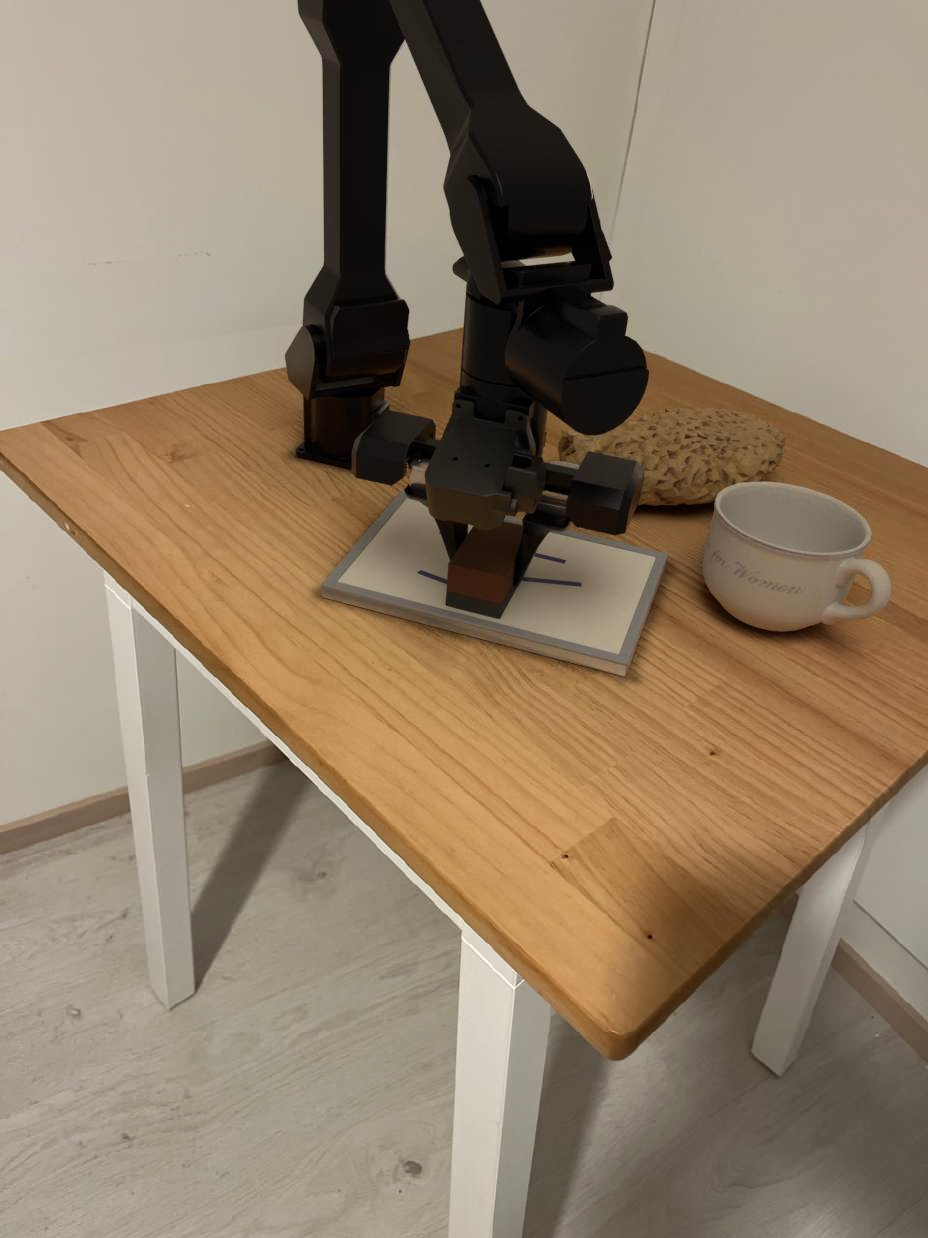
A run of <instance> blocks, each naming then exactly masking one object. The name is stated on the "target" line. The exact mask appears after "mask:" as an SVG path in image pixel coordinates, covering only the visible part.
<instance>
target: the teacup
mask: <svg viewBox="0 0 928 1238" xmlns="http://www.w3.org/2000/svg"><path fill="white" fill-rule="evenodd" d="M713 508H714V510H713V512H712V513H713V514H712V517H711V521H710V525H709V527H708V532H707V537H706V541H705V544H704V550H703V557H702V576H703V580H704V583H705V585H706V587H707V588H708V590H709V592H710V594H711V595H712V596H713V598H715V599H716V600H717V601H718V603H719V604H720V605H721V607H722V608H723V609H724V610H725V611H726V612H727V613H728V614H729V615H731V616H732V617H734V618H735V619H737V620H738V621H740V622H742V623H744V624H746V625H749V626H752V627H755V628H758V629H761V630H765V631H770V632H780V633H781V632H782V633H783V632H794V631H799V630H802V629H805V628H807V627H810V626H815V625H818V624H820V623H822V624H824V625H834V624H836V623H838V622H839V621H859V620H866V619H869V618H871V617H873V616H876V615H877V614H879V613H881V612H882V611H883V610H884V609H885V608H886V606H887V605H888V603H889V600H890V598H891V596H892V595H891V594H892V583H891V580H890V576H889V574H888V572H887V571H886V569H885V568H883V566H882V565H881V564H879V562H877V561H874V560H871V559H867V558H863V557H864V554H865V551H866V548H867V547H868V546H869V544H870V542H871V541H872V535H873V534H872V528H871V526H870V524H869V523H868V521H867V520H866V519H865V517H864V516H863V515H861V514H860V513H859V512H858V511H857V510H855V509H854V508H853V507H851V506H850V505H848V503H847V504H846V503H845V502H843V501H841V500H839V499H838V498H835V497H833V496H832V495H829V494H826V493H824V492H822V491H817V490H814V489H812V488H808V487H804V486H800V485H795V484H790V483H785V482H778V481H764V480H762V481H759V482H742V483H737V484H735V485H731V486H729V487H726V488H724V489H723V490H722V491H720V492H719V493H718V494H717V496H716V499H715V501H713ZM856 575H861V576H862V577H864V578H865V579H866V580H867V582H868V584H869V586H870V592H871V594H870V595H871V596H870V598H869V600H868V601H867V602H866V603H864V604H863V605H854V606H852V605H846V604H845V605H844V602H845V601H846V599H847V597H848V595H849V592H850V590H851V589H852V585H853V583H854V581H855V578H856Z"/></svg>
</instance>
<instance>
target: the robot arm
mask: <svg viewBox="0 0 928 1238" xmlns="http://www.w3.org/2000/svg"><path fill="white" fill-rule="evenodd" d="M296 1H297V2H296V3H297V13H298V15H299V17H300V20H301V21H302V24H303V25H304V27H305V29H306V31H307V33H308V34H309V37H310V39H311V40H312V42H313V44H314V45H315V48H316V49H317V51H318V53H319V55H320V58H321V64H322V65H321V71H322V73H321V75H322V77H321V79H322V81H321V82H322V83H321V84H322V85H321V86H322V173H323V174H322V179H323V180H322V185H323V186H322V188H323V189H322V190H323V191H322V192H323V196H322V197H323V198H322V199H323V200H322V202H323V203H322V205H323V265H322V267H321V268H320V270H319V271H318V273H317V275H316V276H315V279H314V280H313V282H312V283H311V285H310V287H309V288H308V290H307V292H306V294H305V295H304V296H303V297H304V298H303V309H302V325H301V327H300V328H299V329H298V331H297V332H296V334H295V336H294V338H293V340H292V341H291V343H290V345H289V346H288V348H287V350H286V351H285V353H284V360H285V366H286V375H287V379H288V381H289V382H290V383H291V384H292V385H293V386H294V388H296V390H297V391H299V393H300V394H301V395H302V404H303V405H302V409H303V411H302V413H303V415H302V416H303V418H302V419H303V441H302V442H301V443H300V444H299V445H298V446H297V447H295V455H296V456H297V457H299V458H300V457H301V458H305V459H309V460H314V461H318V462H323V463H327V464H330V465H334V466H340V467H344V468H348V469H351V474H352V475H353V476H354V477H355V479H359V480H362V481H363V480H364V481H369V482H372V483H376V484H381V485H386V486H390V487H392V486H394V485H395V484H397V483H398V482H400V481H401V480H402V479H404V478H405V477H406V475H407V474H408V475H409V476H408V478H409V479H408V482H409V483H408V484H407V485H406V486H405V487H404V489H403V491H404V492H405V494H406V496H407V497H408V498H410V499H414V500H417V501H419V502H420V503H422V504H423V505H425V506H426V507H427V508H428V510H429V513H430V515H431V516H432V517H433V518H434V519H435V521H436V523H437V526H438V528H439V531H440V533H441V536H442V539H443V542H444V545H445V548H446V551H447V554H448V556H449V559H450V560H451V559H452V557H453V556H454V554H455V553H456V551H457V550H458V548H459V547H460V545H461V544H462V542H463V541H464V539H465V538H466V536H467V535H468V525H472V526H474V527H476V528H477V529H481V530H493V529H496V528H498V527H499V526H500V525H501V524H502V523H503V521H504V519H505V516H506V515H507V516H511V517H517V514H518V513H525V514H524V516H523V517H522V518H521V519H522V524H523V533H522V537H521V541H520V545H519V549H518V554H517V558H516V562H515V566H514V578H513V586H515V587H519V585H520V583H521V581H522V579H523V577H524V575H525V573H526V571H527V569H528V567H529V565H530V563H531V561H532V559H533V557H534V555H535V553H536V551H537V549H538V547H539V545H540V544H541V542H542V541H543V540H544V538H545V537H546V536H547V534H548V533H549V532H550V531H557V532H563V531H566V530H569V528H570V527H571V525H573V526H574V527H575V528H579V529H583V530H589V531H593V532H596V533H597V532H598V533H602V534H607V535H611V536H619V535H624V534H626V532H627V530H628V528H629V525H630V523H631V521H632V519H633V516H634V514H635V511H636V510H637V507H638V506H637V504H638V502H639V500H640V497H641V492H642V486H643V481H644V471H643V469H642V468H641V466H640V464H639V462H638V461H634V460H630V459H625V458H620V457H615V456H610V455H605V454H600V453H596V452H591V451H588V452H587V454H586V456H585V457H584V459H583V461H582V463H581V465H576V464H571V463H566V462H561V461H560V460H552V461H549V462H547V461H545V460H544V458H543V454H544V448H545V447H546V442H547V433H548V432H547V431H546V429H547V420H548V412H549V413H550V414H552V415H553V416H555V417H556V418H558V419H559V420H560V421H561V422H562V423H564V424H565V425H567V426H568V427H569V428H571V430H575V431H576V432H578V433H581V434H584V435H592V436H596V435H601V434H604V433H607V432H609V431H611V430H613V429H615V428H616V427H618V426H619V425H621V424H622V423H623V422H624V421H628V419H629V418H630V417H631V416H632V415H633V413H634V412H635V411H636V409H637V408H638V406H640V404H641V402H642V400H643V397H644V395H645V393H646V390H647V387H648V385H649V384H648V383H649V378H650V370H649V369H648V364H647V357H646V355H645V352H644V349H643V348H642V346H641V345H640V344H639V342H638V341H636V340H635V339H633V338H632V337H630V336H628V335H627V329H628V322H629V315H628V312H627V311H626V310H623V309H622V308H620V307H618V306H616V305H613V304H607V303H605V302H602V301H601V300H599V299H598V298H596V297H594V296H593V295H592V294H596V293H605V292H611V291H612V290H613V289H614V287H615V281H614V277H613V271H612V267H611V263H610V262H611V261H612V259H613V256H612V253H611V250H610V247H609V244H608V242H607V239H606V235H605V233H604V230H603V228H602V224H601V219H600V216H599V215H600V214H599V211H598V207H597V202H596V198H595V194H594V190H593V187H592V183H591V179H590V176H589V173H588V171H587V170H586V167H585V165H584V163H583V162H582V161H581V159H580V157H579V156H578V154H577V152H576V151H575V149H574V148H573V146H572V145H571V143H570V142H569V140H568V138H567V137H566V135H565V133H564V132H563V131H562V129H561V128H560V126H558V125H556V124H555V123H554V122H552V121H551V120H549V118H547V117H545V116H544V115H543V114H541V113H540V112H538V111H537V110H536V109H534V108H533V107H532V106H531V105H529V104H528V102H527V101H526V99H525V97H524V96H523V95H522V93H521V90H520V88H519V85H518V83H517V81H516V79H515V76H514V74H513V71H512V70H511V67H510V65H509V63H508V60H507V58H506V56H505V54H504V51H503V49H502V47H501V44H500V42H499V39H498V37H497V35H496V33H495V30H494V27H493V26H492V23H491V22H490V19H489V17H488V15H487V12H486V10H485V7H484V6H483V3H482V0H296ZM405 43H406V46H407V48H408V51H409V52H410V55H411V57H412V60H413V62H414V64H415V67H416V69H417V70H416V71H417V72H418V74H419V76H420V79H421V81H422V84H423V86H424V89H425V92H426V93H427V96H428V99H429V101H430V103H431V106H432V108H433V110H434V113H435V115H436V118H437V120H438V123H439V125H440V128H441V130H442V132H443V135H444V138H445V141H446V144H447V148H448V151H449V159H448V163H447V168H446V172H445V176H444V180H443V183H442V184H443V185H442V188H443V189H442V190H443V194H444V196H445V200H446V203H447V207H448V210H449V213H448V214H449V220H450V226H451V228H452V232H453V234H454V237H455V239H456V241H457V244H458V245H459V247H460V249H461V253H462V254H463V255H462V256H461V257H459V258H458V259H457V260H456V261H454V263H453V264H452V269H451V270H452V273H453V274H454V276H456V277H458V278H460V279H461V280H462V281H464V282H466V284H465V298H464V300H465V301H464V313H463V328H462V329H463V330H462V344H461V346H462V347H461V361H460V375H459V387H457V389H456V390H455V391H454V394H453V402H452V404H451V413H450V414H451V415H450V416H449V419H448V422H447V423H446V426H445V428H444V431H443V433H442V436H441V438H440V439H438V438H437V439H436V437H437V436H436V435H437V434H436V433H437V424H436V423H435V421H434V419H433V418H429V417H425V416H421V415H415V414H412V413H411V414H410V413H405V412H400V411H395V410H391V409H390V407H391V405H390V403H389V401H385V394H386V393H385V388H392V387H393V388H396V387H400V386H401V383H402V380H403V375H404V372H405V367H406V364H407V360H408V359H407V358H408V356H409V351H410V347H411V338H410V333H409V320H410V319H409V318H410V308H409V305H408V303H407V301H406V300H405V299H403V298H401V297H400V295H399V293H398V291H397V290H396V288H395V287H394V286H395V285H393V283H392V281H391V279H390V277H389V276H388V273H387V246H388V245H387V238H388V205H389V204H388V203H389V202H388V200H389V165H390V164H389V163H390V161H389V160H390V120H391V83H392V82H391V81H392V78H391V77H392V65H393V63H394V61H395V60H396V58H397V56H398V55H399V53H400V51H401V50H402V48H403V46H404V44H405ZM569 254H571V255H572V257H573V260H567V261H559V262H557V261H556V262H548V263H539V264H538V263H537V264H530V265H529V264H528V265H526V264H524V262H522V261H524V260H535V259H544V258H555V257H563V256H566V255H569ZM407 469H409V473H407V471H408V470H407Z"/></svg>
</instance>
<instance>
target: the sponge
mask: <svg viewBox="0 0 928 1238" xmlns="http://www.w3.org/2000/svg"><path fill="white" fill-rule="evenodd" d="M561 436H562V437H561V438H560V439H559V440H558V442H557V443H558V444H557V452H558V456H559V461H561V462H566V463H571V464H576V465H581V463H582V461H583V459H584V457H585V456H586V454H587V452H588V451H591V452H596V453H600V454H605V455H610V456H615V457H620V458H625V459H630V460H634V461H638V462H639V464H640V466H641V468H642V469H643V471H644V481H643V486H642V492H641V497H640V500H639V502H638V504H637V507H638V506H639V507H640V506H642V505H646V506H647V505H648V506H654V507H657V506H679V505H681V504H683V505H691V506H693V505H703V504H709V503H712V502H715V499H716V496H717V494H718V493H719V492H720V491H722V490H723V489H724V488H726V487H729V486H731V485H735V484H737V483H742V482H763V481H764V480H765V479H767V478H769V476H771V475H772V474H773V473H775V471H776V469H777V468H778V467H779V466H780V464H781V462H782V460H783V458H784V454H785V453H786V452H787V450H785V446H786V434H785V432H784V431H783V430H781V429H779V428H778V427H776V426H775V425H774V424H772V423H770V422H769V421H766V420H763V418H758V417H757V415H754V414H752V413H748V412H743V411H741V410H731V409H724V408H721V407H715V408H712V407H711V408H709V407H687V406H685V407H681V408H665V409H664V411H663V410H660V411H657V412H656V413H655V412H651V413H646V414H644V415H642V416H640V417H638V418H637V419H635V420H633V421H629V420H626V421H624V422H623V423H622V424H621V425H619V426H618V427H616V428H615V429H613V430H611V431H609V432H607V433H604V434H601V435H596V436H592V435H584V434H581V433H578V432H576V431H575V430H573V429H566V430H565V429H564V430H561Z"/></svg>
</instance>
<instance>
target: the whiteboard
mask: <svg viewBox="0 0 928 1238" xmlns="http://www.w3.org/2000/svg"><path fill="white" fill-rule="evenodd" d="M522 519H523V518H519V517H517V516H515V517H513V516H508V515H506V516H505V519H504V522H509V523H513V524H517V525H522V526H523V524H522ZM472 527H473V526H472V525H468V533H469V532H470V530H471V529H472ZM669 554H670V553H668V552H664V551H661V550H657V549H652V548H648V547H643V546H639V545H635V544H630V543H627V542H622V541H617V540H614V539H609V538H605V537H600V536H597V535H592V534H588V533H583V532H580V531H576V530H572V529H571V530H570V529H567V530H566V531H563V532H557V531H550V532H549V533H548V534H547V536H546V537H545V538H544V540H543V541H542V542H541V544H540V545H539V547H538V549H537V551H536V553H535V555H534V557H533V559H532V561H531V563H530V565H529V567H528V569H527V571H526V573H525V575H524V577H523V579H522V581H521V583H520V585H519V587H517V589H516V590H515V592H514V594H513V596H512V598H511V600H510V601H509V603H508V605H507V607H506V609H505V611H504V612H503V614H502V616H501V618H500V619H498V618H494V617H490V616H486V615H482V614H478V613H474V612H470V611H466V610H462V609H458V608H454V607H450V606H446V592H447V590H446V589H447V575H448V563H449V562H450V559H449V556H448V554H447V551H446V548H445V545H444V542H443V539H442V536H441V533H440V531H439V528H438V526H437V523H436V521H435V519H434V518H433V517H432V516H431V515H430V513H429V510H428V508H427V507H426V506H425V505H423V504H422V503H420V502H419V501H417V500H414V499H410V498H408V497H407V496H406V494H405V492H404V490H400V491H399V492H398V494H397V495H396V496H395V497H394V498H393V499H392V500H391V502H390V503H389V504H388V505H387V507H386V508H384V510H383V511H382V512H381V514H380V515H379V516H378V517H377V518H376V520H375V521H374V522H373V523H372V524H371V525H370V527H368V529H367V530H366V531H365V533H364V534H363V535H362V536H361V537H360V538H359V539H358V540H357V542H356V543H355V544H354V545H353V546H352V547H351V549H350V550H349V551H348V553H346V554H345V556H344V557H343V558H342V559H341V560H340V562H339V563H338V564H337V565H336V566H335V567H334V569H333V570H332V571H331V572H330V573H329V575H328V576H327V577H326V578H325V579H324V581H322V583H321V598H324V599H327V600H332V601H335V602H339V603H341V604H347V605H350V606H355V607H359V608H362V609H366V610H370V611H373V612H376V613H381V614H385V615H389V616H392V617H396V618H400V619H403V620H408V621H412V622H415V623H418V624H423V625H427V626H431V627H434V628H438V629H441V630H445V631H448V632H452V633H457V634H461V635H465V636H468V637H472V638H476V639H479V640H484V641H487V642H491V643H495V644H499V645H503V646H507V647H509V648H514V649H518V650H521V651H525V652H528V653H533V654H537V655H540V656H544V657H548V658H552V659H555V660H559V661H563V662H567V663H571V664H574V665H579V666H583V667H585V668H590V669H594V670H596V671H601V672H605V673H608V674H613V675H616V676H620V677H624V678H625V677H626V676H627V674H628V671H629V669H630V666H631V663H632V660H633V658H634V655H635V653H636V649H637V647H638V644H639V642H640V638H641V636H642V633H643V630H644V628H645V624H646V622H647V619H648V617H649V613H650V611H651V608H652V606H653V602H654V600H655V597H656V594H657V592H658V589H659V587H660V584H661V581H662V578H663V575H664V572H665V570H666V567H667V563H668V560H669Z"/></svg>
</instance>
